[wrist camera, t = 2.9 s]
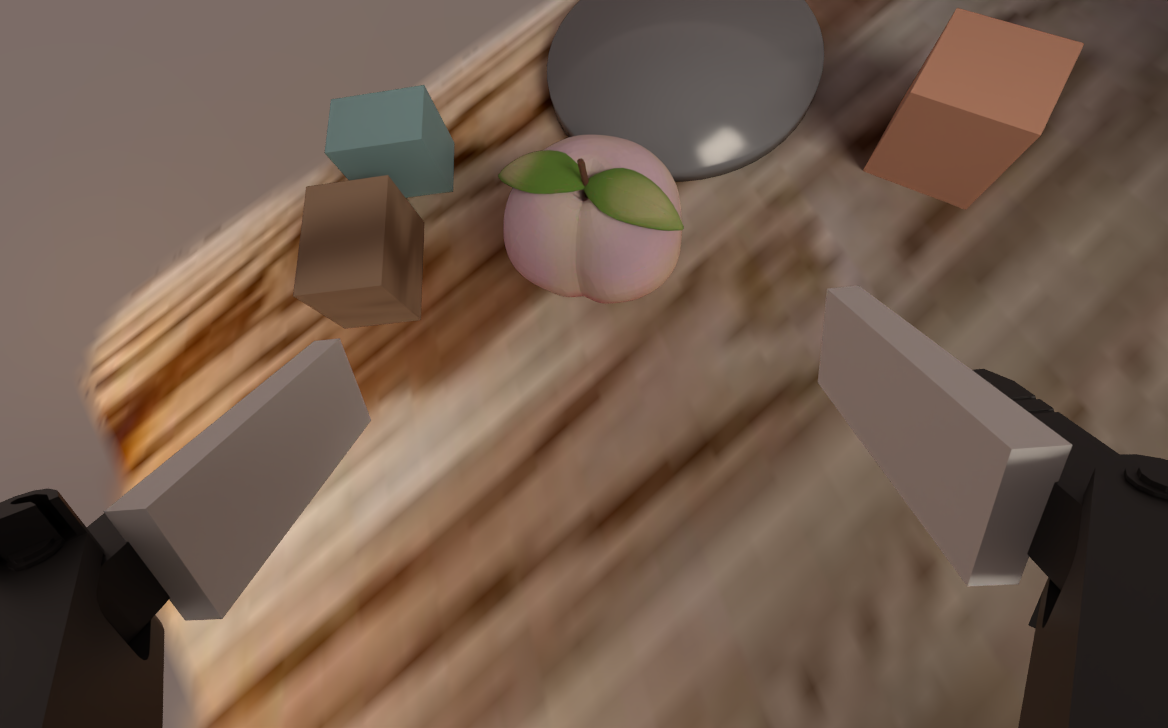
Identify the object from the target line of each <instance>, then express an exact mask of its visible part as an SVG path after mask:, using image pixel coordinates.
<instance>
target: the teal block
mask: <svg viewBox="0 0 1168 728" xmlns="http://www.w3.org/2000/svg"><path fill="white" fill-rule="evenodd" d="M325 154H326V155H327V156H328V157H329V158H330V160H331V161H332V162H333V163H334V164H335V165H336V166H337V167H338V169H339V170H340V171H341V172H342V173H343V174H344V175H345V176H346V178H347V179H348V180H349V181H350V180H357V179H363V178H370V177H377V176H384V175H389V177H390V178H391V179H392V181H393V182H394V183H395V185H396V186H397V187H398V189H399V190H400V191H401V193H402V194H403V195H404V197H405V198H407V197H414V196H422V195H430V194H437V193H445V192H453V174H454V141H453V139H452V137H451V136H450V134H449V132H448V130H447V128H446V126H445V124H444V122H443V120H442V118H441V116H440V114H439V113H438V111H437V109H436V107H435V105H434V103H433V101H432V99H431V97H430V95H429V93H428V91H427V90H426V88H425V86H424V85H421V86H415V87H409V88H402V89H396V90H390V91H383V92H377V93H370V94H363V95H357V96H350V97H344V98H338V99H332V100H331V104H330V113H329V121H328V130H327V138H326V146H325Z"/></svg>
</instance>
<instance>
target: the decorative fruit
mask: <svg viewBox="0 0 1168 728" xmlns="http://www.w3.org/2000/svg"><path fill="white" fill-rule="evenodd" d="M498 177H499V179H500V180H501V181H502V182H504V183H505V184H507V185H509V186H511V187H513V188H512V190H511V193H510V195H509V198H508V201H507V204H506V208H505V214H504V243H505V247H506V251H507V254H508V257H509V259H510V260H511V262H512V264H513V266H514V267H515V268H516V270H517V271H518V272H519V273H520V274H521V275H522V276H523V277H525V278H526V279H528V280H529V281H530V282H532V283H533V284H535V285H537V286H539V287H541V288H543V289H545V290H548V291H550V292H553V293H555V294H557V295H560V296H565V297H577V296H585V297H587V298H590V299H592V300H594V301H596V302H599V303H619V302H627V301H631V300H635V299H638V298H641V297H643V296H645V295H647V294H649V293H651V292H653V291H654V290H656V289H657V288H659V287H660V286H661V285H662V284H663V283H664V282H665V281H666V280H667V279H668V277H669V276H670V274H671V273H672V271H673V270H674V268H675V266H676V264H677V261H678V257H679V253H680V248H681V236H682V230H683V229H684V226H683V224H682V219H681V205H680V198H679V193H678V189H677V186H676V183H675V181H674V179H673V177H672V175H671V174H670V172H669V170H668V169H667V168H666V166H665V165H664V164H663V163H662V162H661V161H660V160H659V159H658V158H657V157H656V156H655V155H654V154H653V153H651V152H650V151H649V150H647V149H646V148H644V147H642V146H641V145H639V144H637V143H635V142H632V141H629V140H626V139H622V138H618V137H613V136H606V135H578V136H573V137H569V138H566V139H563V140H561V141H559V142H557V143H554V144H553V145H551V146H549V147H547V148H546V149H545V150H543V151H536V152H532V153H529V154H526V155H524V156H521V157H519V158H517V159H516V160H514V161H513V162H511V163H510V164H508V165H507V166H506V167H505V168H504V169H503V170H502V171H501V173H500V174H499V175H498Z"/></svg>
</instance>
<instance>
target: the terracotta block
mask: <svg viewBox="0 0 1168 728" xmlns="http://www.w3.org/2000/svg"><path fill="white" fill-rule="evenodd" d="M1083 45H1084V43H1081V42H1077V41H1074V40H1070V39H1066V38H1063V37H1059V36H1056V35H1052V34H1049V33H1045V32H1041V31H1038V30H1034V29H1031V28H1027V27H1024V26H1020V25H1016V24H1013V23H1009V22H1006V21H1002V20H998V19H995V18H991V17H988V16H984V15H981V14H977V13H973V12H970V11H966V10H963V9H959V8H957V9H956V10H955V12H954V14H953V15H952V17H951V19H950V20H949V22H948V24H947V25H946V27H945V29H944V30H943V32H942V34H941V35H940V37H939V39H938V40H937V42H936V44H935V46H934V47H933V49H932V51H931V52H930V54H929V56H928V57H927V59H926V61H925V62H924V64H923V66H922V67H921V69H920V71H919V72H918V74H917V76H916V77H915V79H914V81H913V82H912V84H911V86H910V87H909V89H908V91H907V92H906V94H905V96H904V97H903V99H902V101H901V103H900V105H899V106H898V108H897V110H896V112H895V114H894V115H893V117H892V119H891V121H890V123H889V124H888V126H887V128H886V130H885V132H884V133H883V135H882V137H881V139H880V141H879V143H878V144H877V146H876V148H875V150H874V152H873V153H872V155H871V157H870V159H869V161H868V162H867V164H866V166H865V168H864V170H863V171H865V172H867V173H870V174H873V175H875V176H878V177H881V178H883V179H886V180H888V181H891V182H894V183H896V184H899V185H902V186H904V187H907V188H910V189H912V190H915V191H917V192H920V193H923V194H925V195H928V196H931V197H933V198H936V199H939V200H941V201H944V202H946V203H949V204H952V205H954V206H957V207H960V208H962V209H965V210H966V209H967V208H968V207H969V206H970V205H971V204H972V203H973V202H974V201H975V200H976V199H977V198H978V197H979V196H980V195H981V194H982V193H983V192H984V191H985V190H986V189H987V188H988V187H989V186H990V185H991V184H992V183H993V182H994V181H995V180H996V179H997V178H998V177H999V176H1000V175H1001V174H1002V173H1003V172H1004V171H1005V170H1006V169H1007V168H1008V167H1009V166H1010V165H1011V164H1012V163H1013V162H1014V161H1015V160H1016V159H1017V158H1018V157H1019V156H1020V155H1021V154H1022V153H1023V152H1024V151H1025V150H1026V149H1027V148H1028V147H1029V146H1030V145H1031V144H1033V143H1034V142H1035V141H1036V140H1037V139H1038V138H1039V137H1040V136H1041V134H1042V132H1043V130H1044V128H1045V125H1046V123H1047V121H1048V119H1049V117H1050V115H1051V113H1052V111H1053V109H1054V106H1055V104H1056V102H1057V100H1058V98H1059V96H1060V94H1061V92H1062V90H1063V87H1064V85H1065V83H1066V81H1067V79H1068V77H1069V75H1070V73H1071V71H1072V68H1073V66H1074V64H1075V62H1076V60H1077V58H1078V56H1079V54H1080V52H1081V49H1082V47H1083Z"/></svg>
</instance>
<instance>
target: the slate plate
mask: <svg viewBox="0 0 1168 728" xmlns="http://www.w3.org/2000/svg"><path fill="white" fill-rule="evenodd" d="M823 62H824V44H823V39H822V34H821V30H820V27H819V25H818V22H817V20H816V18H815V15H814V14H813V12H812V11H811V9H810V8H809V6H808V4H807V3H806V2H805V1H804V0H580V1H579V2H578V3H577V4H576V5H575V6H574V7H573V9H572V10H571V11H570V12H569V13H568V14H567V16H566V17H565V19H564V20H563V22H562V23H561V25H560V26H559V28H558V30H557V32H556V34H555V37H554V39H553V41H552V45H551V48H550V51H549V56H548V63H547V81H548V86H549V92H550V96H551V100H552V105H553V108H554V111H555V113H556V116H557V119H558V121H559V123H560V124H561V126H562V128H563V130H564V131H565V133H566V134H567V135H568V136H569V137H573V136H578V135H606V136H613V137H618V138H622V139H626V140H629V141H632V142H635V143H637V144H639V145H641V146H642V147H644V148H646V149H647V150H649V151H650V152H651V153H653V154H654V155H655V156H656V157H657V158H658V159H659V160H660V161H661V162H662V163H663V164H664V165H665V166H666V168H667V169H668V170H669V172H670V174H671V175H672V177H673V179H674V181H692V180H702V179H706V178H711V177H715V176H720V175H723V174H726V173H729V172H732V171H735V170H738V169H740V168H742V167H744V166H747V165H749V164H751V163H753V162H755V161H757V160H758V159H760V158H761V157H763V156H765V155H766V154H768V153H769V152H771V151H772V150H773V149H775V148H776V147H777V146H778V145H780V144H781V143H782V142H783V141H784V140H785V139H786V138H787V137H788V136H789V135H790V134H791V133H792V132H793V131H794V130H795V129H796V127H797V126H798V125H799V123H800V122H801V120H802V119H803V117H804V116H805V114H806V112H807V110H808V108H809V106H810V104H811V102H812V100H813V97H814V95H815V92H816V90H817V87H818V84H819V81H820V77H821V74H822V70H823Z"/></svg>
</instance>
